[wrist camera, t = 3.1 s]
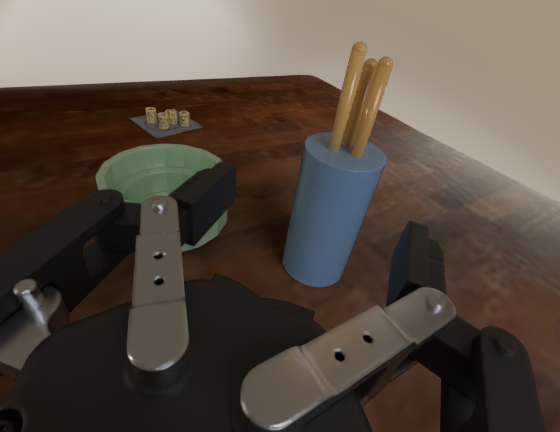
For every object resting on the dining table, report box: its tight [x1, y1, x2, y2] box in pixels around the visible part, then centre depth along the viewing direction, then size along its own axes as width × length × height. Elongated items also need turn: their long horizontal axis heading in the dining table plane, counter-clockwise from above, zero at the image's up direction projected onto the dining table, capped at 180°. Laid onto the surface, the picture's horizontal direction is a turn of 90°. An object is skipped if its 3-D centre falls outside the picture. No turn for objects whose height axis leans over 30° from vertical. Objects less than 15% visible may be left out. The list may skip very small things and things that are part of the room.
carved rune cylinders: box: [146, 107, 191, 129], centre depth 49 cm, size 5×5×2 cm
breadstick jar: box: [282, 42, 393, 287], centre depth 25 cm, size 6×6×19 cm
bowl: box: [95, 144, 227, 252], centre depth 31 cm, size 11×11×6 cm
